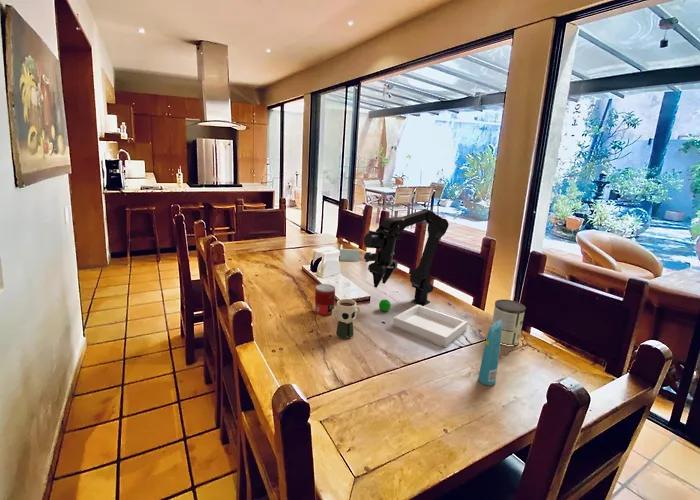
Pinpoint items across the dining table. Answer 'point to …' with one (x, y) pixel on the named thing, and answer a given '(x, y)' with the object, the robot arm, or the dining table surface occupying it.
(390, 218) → the robot arm
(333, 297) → the canned food
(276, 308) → the dining table surface
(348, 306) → the character mug
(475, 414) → the dining table surface
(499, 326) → the tube
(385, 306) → the polyhedron
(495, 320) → the coffee can
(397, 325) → the white tray
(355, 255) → the l-shaped corner panel
